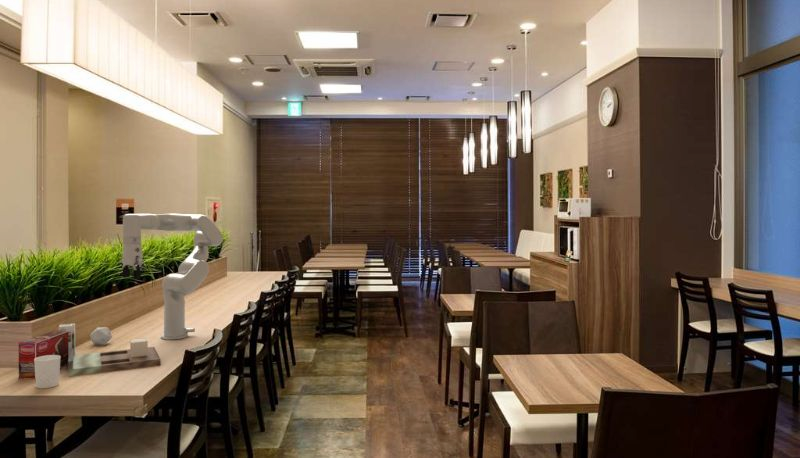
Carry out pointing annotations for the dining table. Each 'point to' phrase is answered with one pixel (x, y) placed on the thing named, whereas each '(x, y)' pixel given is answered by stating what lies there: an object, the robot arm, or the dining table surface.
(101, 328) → the die
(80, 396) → the dining table surface
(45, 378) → the white cup
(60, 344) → the ice cream box
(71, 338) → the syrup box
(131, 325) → the dining table surface
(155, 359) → the board
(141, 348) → the cream block
